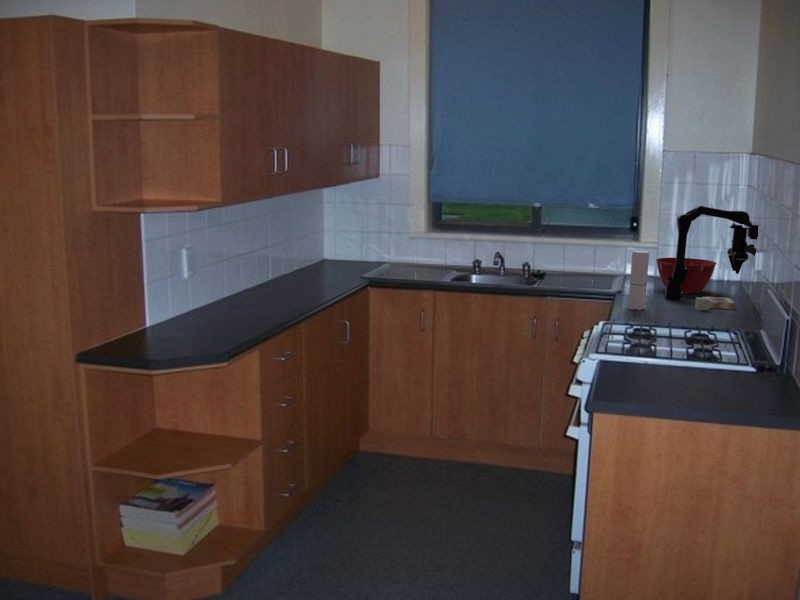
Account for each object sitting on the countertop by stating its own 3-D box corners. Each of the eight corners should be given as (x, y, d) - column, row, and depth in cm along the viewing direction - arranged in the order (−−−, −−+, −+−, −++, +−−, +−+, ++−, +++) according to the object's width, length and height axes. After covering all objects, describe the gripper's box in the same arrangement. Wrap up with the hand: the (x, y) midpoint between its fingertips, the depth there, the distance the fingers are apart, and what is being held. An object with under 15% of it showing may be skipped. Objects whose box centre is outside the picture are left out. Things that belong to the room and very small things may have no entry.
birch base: (706, 307, 399) (707, 300, 399) (701, 302, 411) (702, 296, 410) (734, 309, 398) (735, 302, 397) (728, 304, 409) (729, 297, 409)
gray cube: (697, 310, 393) (698, 299, 392) (694, 308, 397) (695, 297, 396) (708, 311, 392) (709, 299, 391) (706, 309, 397) (707, 297, 396)
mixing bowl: (649, 293, 433) (652, 261, 430) (657, 285, 459) (659, 255, 456) (711, 299, 422) (714, 266, 419) (715, 290, 448) (718, 259, 445)
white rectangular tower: (643, 307, 396) (647, 251, 391) (645, 310, 389) (650, 253, 384) (626, 306, 396) (631, 250, 392) (629, 309, 389) (633, 252, 385)
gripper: (761, 242, 398) (757, 276, 401) (754, 237, 416) (750, 270, 419) (735, 240, 401) (731, 274, 403) (729, 236, 419) (725, 269, 421)
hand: (735, 272), depth 412 cm, fingers open, 9 cm apart
